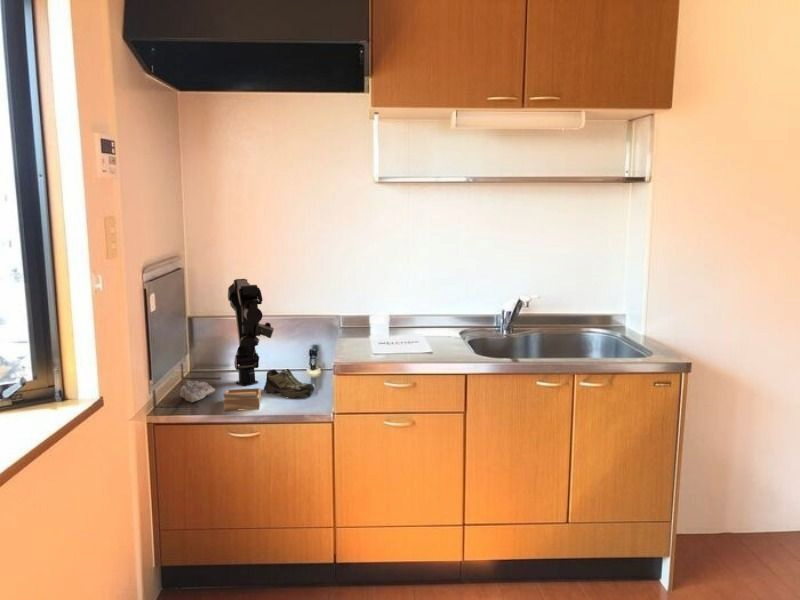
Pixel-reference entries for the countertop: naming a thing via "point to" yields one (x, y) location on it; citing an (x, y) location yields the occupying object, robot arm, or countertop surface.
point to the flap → (240, 395)
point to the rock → (195, 390)
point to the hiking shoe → (287, 385)
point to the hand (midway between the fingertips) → (251, 359)
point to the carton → (243, 400)
